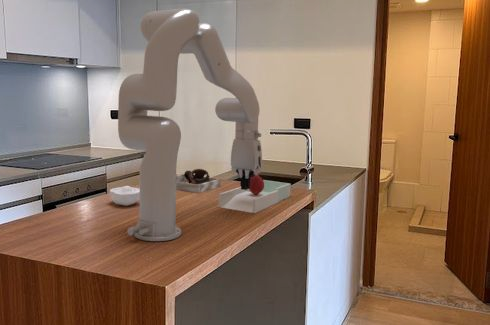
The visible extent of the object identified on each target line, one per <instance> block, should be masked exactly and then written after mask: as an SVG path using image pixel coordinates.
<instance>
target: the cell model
mask: <svg viewBox="0 0 490 325" xmlns="http://www.w3.org/2000/svg"><path fill="white" fill-rule="evenodd" d="M109 197H110V199H111V200H112V201H113V202H114V203H115V204H116V205H120V206H123V207H124V206H125V207H126V206H127V207H128V206H131V205H134V204H136V203H137V202H139V201H140V187H132V186H130V185H124V186H119V187H114V188H111V189H109Z"/></svg>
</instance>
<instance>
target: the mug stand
mask: <svg viewBox="0 0 490 325" xmlns="http://www.w3.org/2000/svg"><path fill="white" fill-rule="evenodd" d="M184 174H185V173H181V174H178V175H177V174H176V191H183V192H190V193H195V194H199V193H203V192H206V191H210V190H214V189H216V188H221V187H222V179H221V178H216V177H209V179H210V182H209V181H208V182H206V183H202V184H199V185H196V184H191V183H189V181H188V180H187V179H186V178H185V176H184ZM205 177H206V176H204V178H205ZM186 181H187V182H186Z"/></svg>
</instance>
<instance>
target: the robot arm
mask: <svg viewBox="0 0 490 325" xmlns="http://www.w3.org/2000/svg"><path fill="white" fill-rule="evenodd" d="M140 32H141V34H142V36H143V38H144V39H145V40H146V41H147V42H148V43H147V45H146V47H145V51H144V58H143V68H142V73H133V74H129V75H128V76H126V77H125V78H124V79H123V81H122V82H121V84H120V87H119V91H118V104H117V105H118V109H117V112H118V113H117V114H118V115H117V119H118V120H117V132H118V137H119V140H120V143H121V144H122V145H123V147H125V148H126V149H129V150H134V151H140V152H145V155H144V157H143V158H142V161H141V163H140V167H139V189H140V198H139V213H138V214H139V219H138V220H136V222H137V223H136V224H135V226H131V227H128V228H127V234H128V236H134V238H136V239H138V240H141V241H145V242H146V241H147V242H167V241H172V240H175V239H178V238H179V237H180V236H181V235H182V229H181V227H179V226H177V225H176V221H177V220H176V219H177V218H176V215H177V211H176V210H177V208H176V207H177V190H176V176H177V166H178V165H177V164H178V155H179V149H180V144H181V139H182V138H181V137H182V134H181V132H182V131H181V128H180V126H179V125H178V123H177V122H176V121H175V120H173V119H171V118H169V117H165V116H159V115H158V116H157V115H148V112H149V111H153V112H163V111H164V112H166V111H169V110H172V109H173V108H174V106H175V105H176V101H177V90H178V89H177V87H178V65H179V58H180V54H183V55H184V54H186V55H187V54H193V55H194V56H195V58H196V60H197V63H198V65H199V68H200V70H201V72H202V74H203V77H204V78H205V80H206V81H207V82H209V83H211V84H213V85H214V86H216V87H219V88H221V89H223V90H226V91H227V92H229V93H230V94H232V95H233V96H234V97H224V98H221V99H219V100H218V101H217V103H216V105H215V109H214V111H215V115H216V116H217V118H218V119H219V120H221V121H225V122H231V123H232V122H233V123H235V137H234V139H233V141H232V145H231V151H230V152H231V153H230V166H231V168H230V169H231V170H230V171H232V172H235V173H237V175H238V177H239V179H240V186H239V187H241V189H242V190H243V189H244V190H247V189H249V187H250V179H251V178H252V177H253V176H255V174H260V173H261V172H262V171H261V169H262V168H263V167H262V166H263V153H262V151H263V149H262V143H261V140H260V139H259V138H261V137H262V133H260V132H259V116H260V103H259V100H258V97H257V95H256V93H255V90H254V88H253V86H252V85H251V83H250V82H249V81H248V79H246V78H244V76H243V75H242V74H240V73H239V72H238V71H237V70H236V69H235V68H233V67H232V66H231V62H230V61H229V57H228V56H227V53H226V51H225V48H224V46H223V43H222V40H221V38H220V35H219V33H218V30H217V28H216V27H215V26H214V25H212V24H211V23H208V22H200V17H199V15H198V14H197V12H196V11H195V10H193V9H190V8H172V9H165V10H161V9H160V10H153V11H149V12H147V13H146V14H145V15H144V16H143V17H142V19H141V21H140Z"/></svg>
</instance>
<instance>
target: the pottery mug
mask: <svg viewBox="0 0 490 325" xmlns="http://www.w3.org/2000/svg"><path fill="white" fill-rule="evenodd" d="M183 174H184V176H185V178H186V179H187V180H188V181H189V182H188V183H189V184H196V185H199V184H202V183H206V182H208V181H209V182H210V179H209V177H210V174H209V172H208V171H207V170H205V169H203V168H195V169H192V170H185V172H184V173H183ZM204 177H205V178H204ZM210 178H211V177H210Z"/></svg>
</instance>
